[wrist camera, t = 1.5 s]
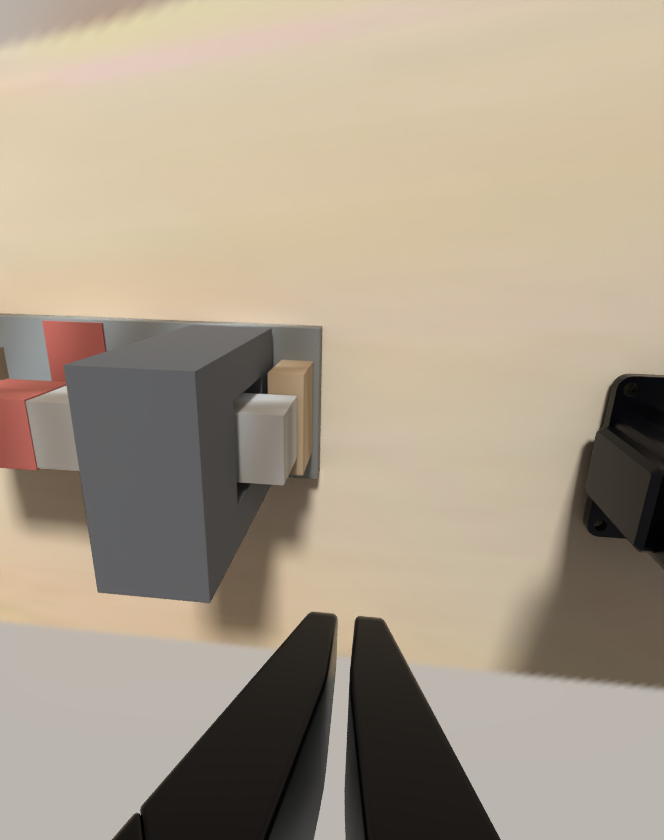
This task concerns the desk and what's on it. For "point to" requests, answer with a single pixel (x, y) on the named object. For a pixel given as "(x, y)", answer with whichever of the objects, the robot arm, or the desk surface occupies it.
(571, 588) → the desk surface
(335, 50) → the desk surface
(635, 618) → the desk surface
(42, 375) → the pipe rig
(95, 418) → the collar
